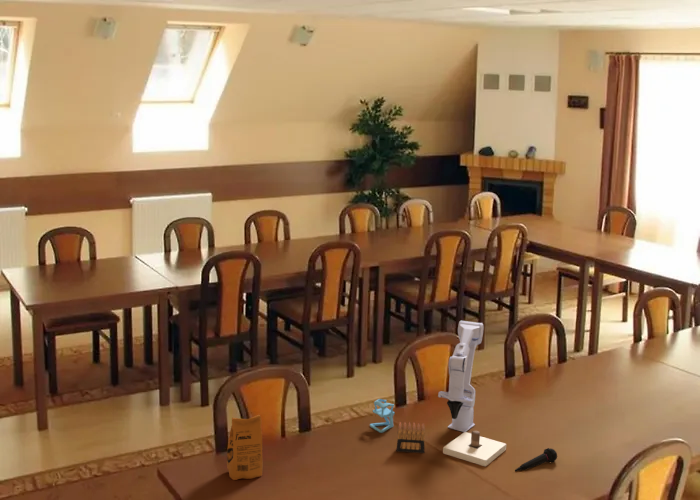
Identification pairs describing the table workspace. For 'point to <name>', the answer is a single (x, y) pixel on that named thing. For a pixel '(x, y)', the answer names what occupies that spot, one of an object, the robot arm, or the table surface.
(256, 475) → the coffee package
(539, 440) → the table surface
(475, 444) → the walnut peg
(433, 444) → the table surface
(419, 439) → the ammunition clip
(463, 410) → the robot arm
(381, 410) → the light blue bar frame
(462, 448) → the cream board
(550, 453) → the microphone
